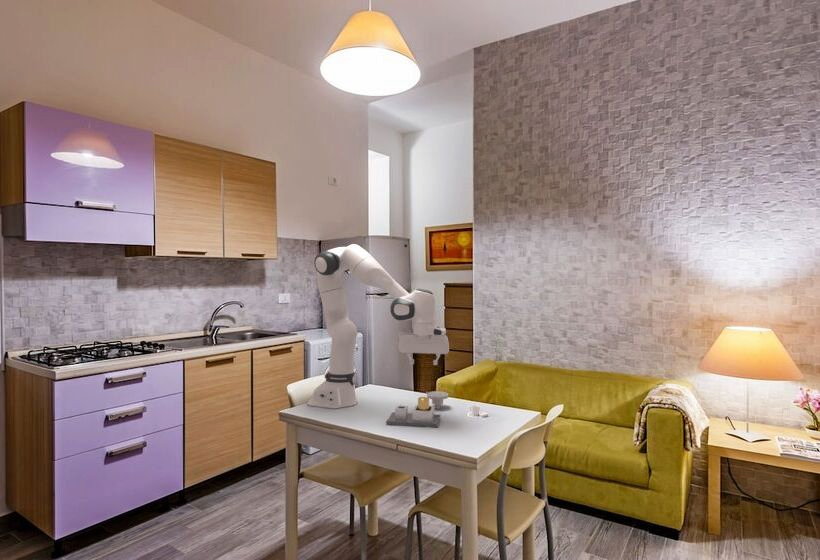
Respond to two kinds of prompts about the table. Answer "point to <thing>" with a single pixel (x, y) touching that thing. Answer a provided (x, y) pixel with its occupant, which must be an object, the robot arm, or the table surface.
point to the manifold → (414, 417)
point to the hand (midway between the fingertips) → (423, 364)
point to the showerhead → (437, 397)
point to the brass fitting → (423, 403)
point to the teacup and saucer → (476, 412)
